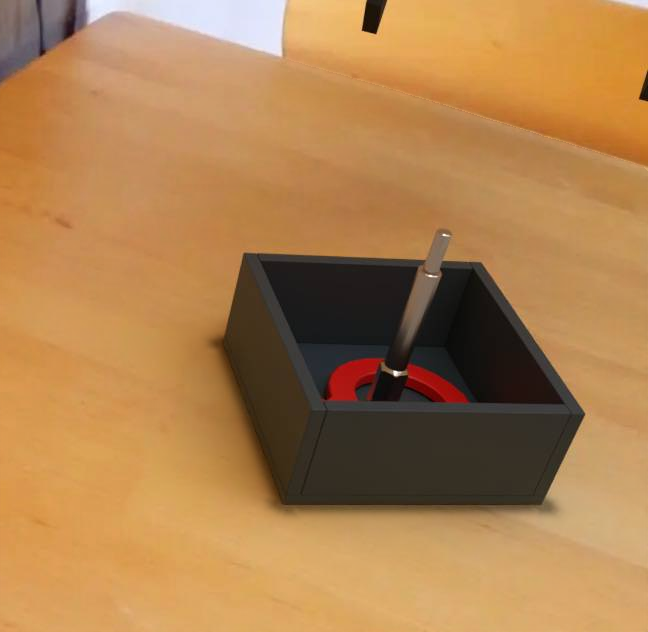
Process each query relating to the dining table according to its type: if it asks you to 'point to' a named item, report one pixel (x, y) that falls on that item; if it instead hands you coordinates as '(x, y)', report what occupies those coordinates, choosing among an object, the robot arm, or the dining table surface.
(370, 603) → the dining table surface
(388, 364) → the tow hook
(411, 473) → the tote
